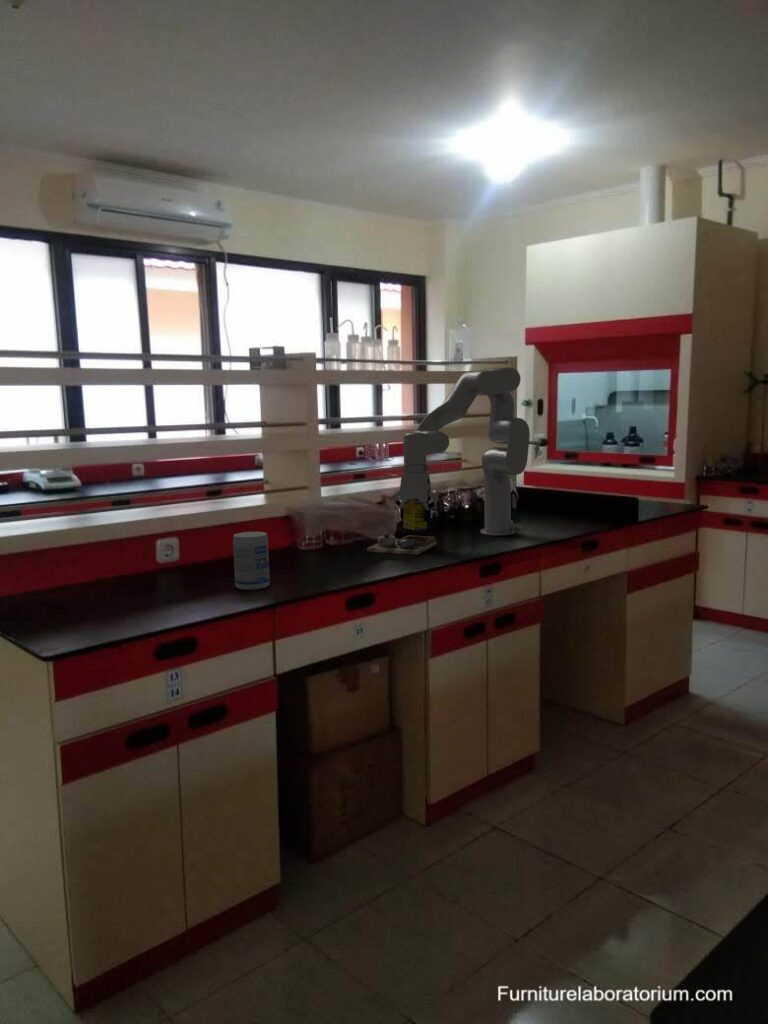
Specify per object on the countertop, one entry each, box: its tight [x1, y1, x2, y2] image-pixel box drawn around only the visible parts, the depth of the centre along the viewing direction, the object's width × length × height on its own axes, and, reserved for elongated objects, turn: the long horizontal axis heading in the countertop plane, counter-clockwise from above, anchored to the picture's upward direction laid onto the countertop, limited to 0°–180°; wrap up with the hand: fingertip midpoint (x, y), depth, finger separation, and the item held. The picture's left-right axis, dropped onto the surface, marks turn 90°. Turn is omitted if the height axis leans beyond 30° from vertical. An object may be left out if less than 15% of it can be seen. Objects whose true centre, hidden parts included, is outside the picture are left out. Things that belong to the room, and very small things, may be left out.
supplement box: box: [402, 499, 428, 533], centre depth 265 cm, size 6×6×11 cm
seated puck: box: [399, 538, 415, 549], centre depth 259 cm, size 5×5×2 cm
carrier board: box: [366, 532, 437, 556], centre depth 264 cm, size 18×18×5 cm
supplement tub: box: [232, 531, 271, 591], centre depth 214 cm, size 10×10×15 cm
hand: (415, 520), depth 265 cm, fingers closed on supplement box, 7 cm apart
